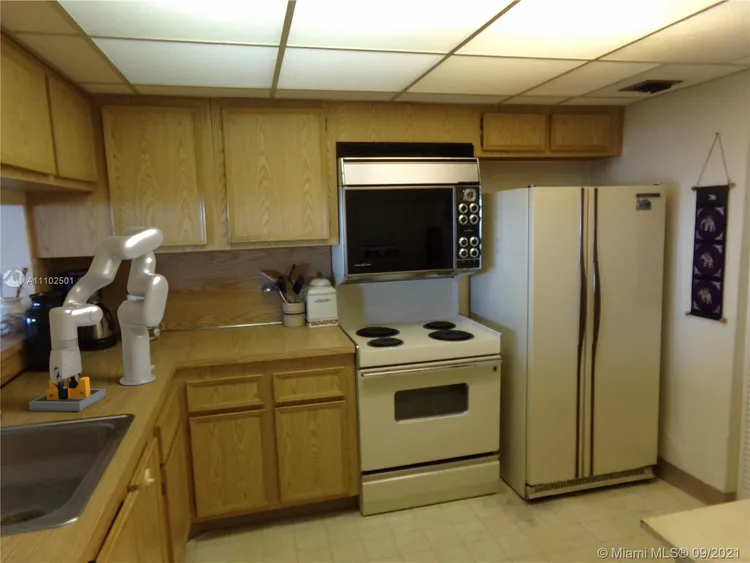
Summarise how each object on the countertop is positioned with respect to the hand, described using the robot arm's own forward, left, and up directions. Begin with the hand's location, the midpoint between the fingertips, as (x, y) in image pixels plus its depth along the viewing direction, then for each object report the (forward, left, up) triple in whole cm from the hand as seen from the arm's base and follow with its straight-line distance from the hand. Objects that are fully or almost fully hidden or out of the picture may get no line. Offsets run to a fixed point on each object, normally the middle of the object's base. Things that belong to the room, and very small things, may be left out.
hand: (69, 395), depth 169 cm
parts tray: (0, 0, -3) cm, 3 cm away
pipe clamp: (0, 0, -1) cm, 1 cm away
